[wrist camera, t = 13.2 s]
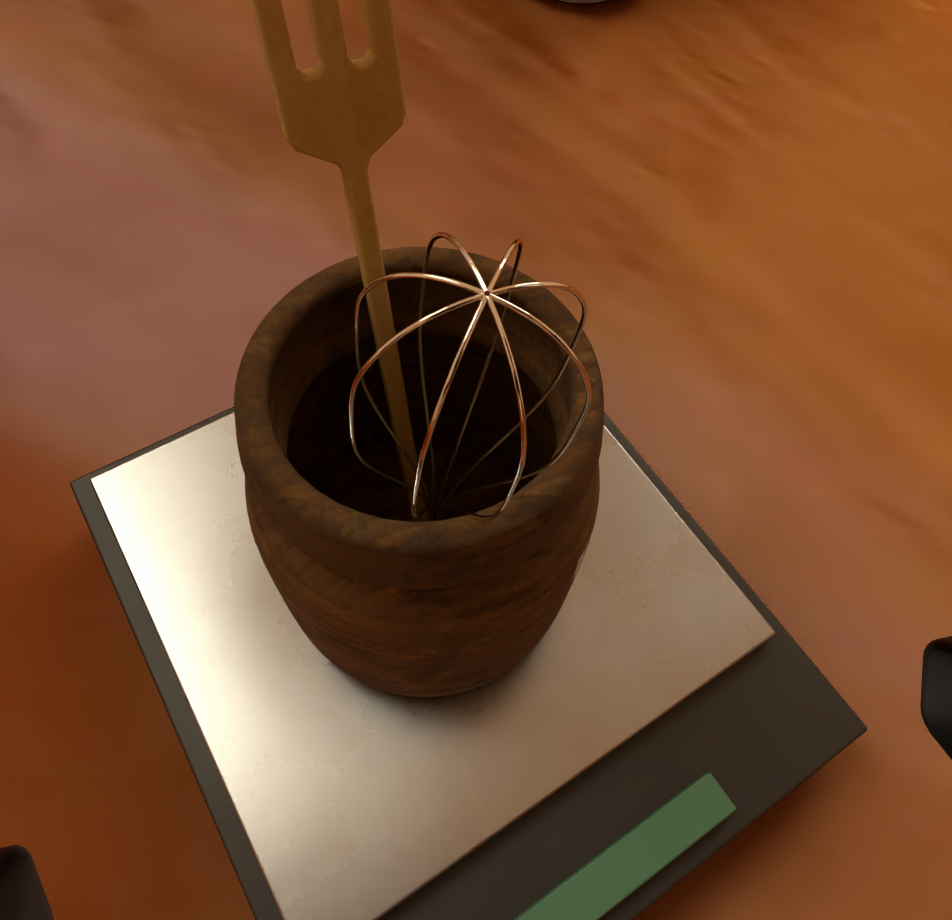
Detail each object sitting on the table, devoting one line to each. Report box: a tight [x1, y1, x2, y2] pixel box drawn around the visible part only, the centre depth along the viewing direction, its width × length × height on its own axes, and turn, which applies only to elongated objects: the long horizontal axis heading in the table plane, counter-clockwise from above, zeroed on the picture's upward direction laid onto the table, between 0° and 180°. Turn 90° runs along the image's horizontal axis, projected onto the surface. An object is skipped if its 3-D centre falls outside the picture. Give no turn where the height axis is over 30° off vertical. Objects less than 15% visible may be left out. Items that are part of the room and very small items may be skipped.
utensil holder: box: [234, 0, 604, 697], centre depth 11 cm, size 6×6×12 cm
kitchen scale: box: [70, 407, 867, 920], centre depth 17 cm, size 14×12×2 cm
